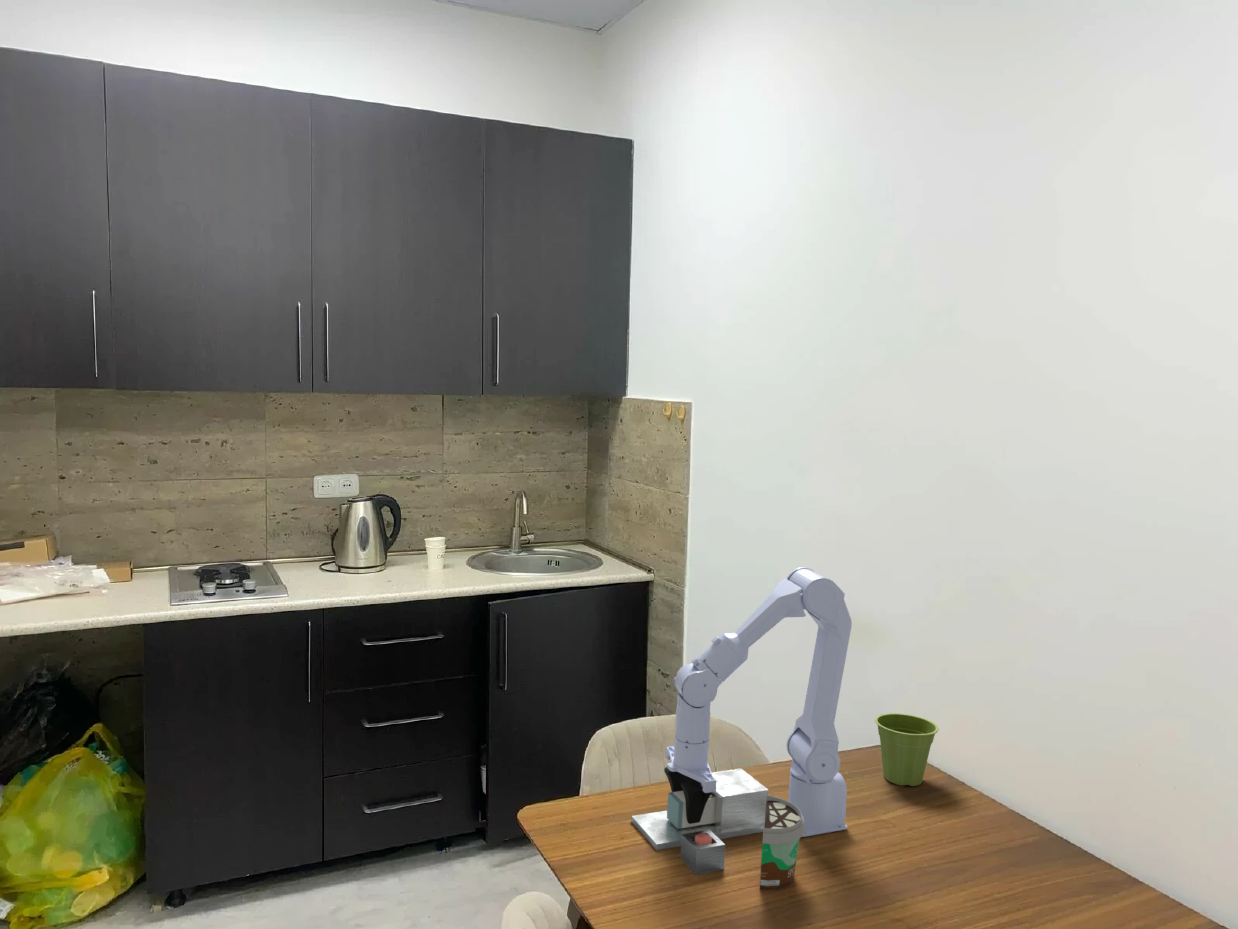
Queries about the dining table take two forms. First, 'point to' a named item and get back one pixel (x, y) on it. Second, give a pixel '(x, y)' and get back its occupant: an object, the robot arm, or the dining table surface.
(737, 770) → the housing
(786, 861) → the food container
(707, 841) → the plunger
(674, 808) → the cartridge
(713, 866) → the plunger collar
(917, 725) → the plant pot
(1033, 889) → the dining table surface
